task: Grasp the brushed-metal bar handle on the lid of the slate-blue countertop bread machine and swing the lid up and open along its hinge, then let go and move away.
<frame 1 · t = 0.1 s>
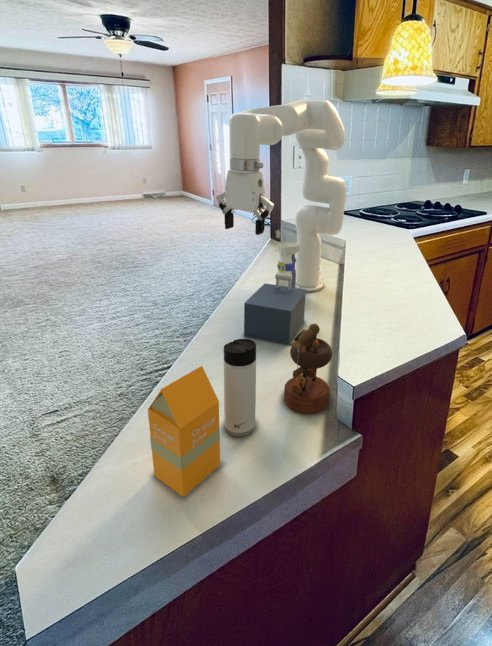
hand: (244, 230, 111), 31 cm above the counter, tool pointing down, fingers open, 9 cm apart
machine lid: (277, 289, 122), point 13 cm above the counter, hinge at 0.0°
travel mug: (240, 428, 85), on the counter
bread machine: (275, 328, 126), on the counter
orange juice: (188, 471, 74), on the counter
music box: (307, 398, 96), on the counter
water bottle: (285, 294, 152), on the counter
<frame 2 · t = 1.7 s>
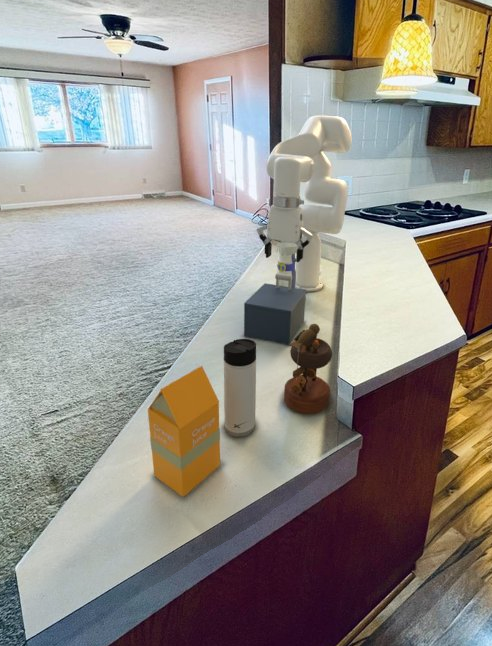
hand: (283, 258, 124), 21 cm above the counter, tool pointing down, fingers open, 9 cm apart
nothing on the counter moved.
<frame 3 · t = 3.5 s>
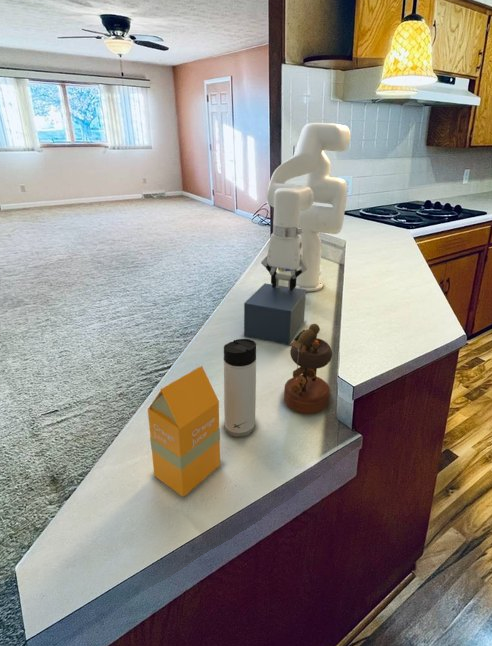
hand: (283, 287, 128), 11 cm above the counter, tool pointing down, fingers closed on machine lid, 5 cm apart
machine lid: (277, 289, 122), point 13 cm above the counter, hinge at 0.0°, touching gripper
everything else where it was.
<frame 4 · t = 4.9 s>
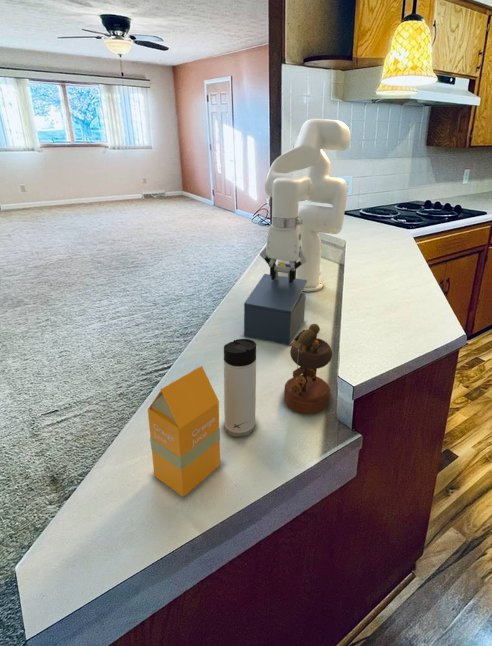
hand: (282, 279, 126), 14 cm above the counter, tool pointing down, fingers closed on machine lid, 5 cm apart
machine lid: (276, 285, 121), point 15 cm above the counter, hinge at 11.9°, touching gripper
everything else where it was.
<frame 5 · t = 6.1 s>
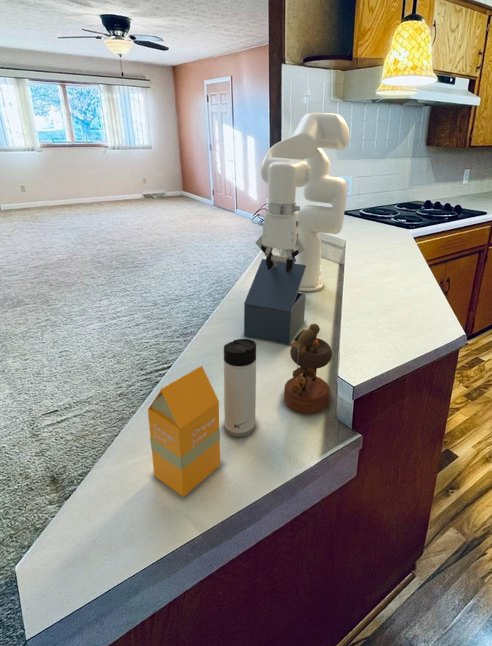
hand: (279, 268, 121), 19 cm above the counter, tool pointing down, fingers closed on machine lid, 5 cm apart
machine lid: (274, 279, 118), point 17 cm above the counter, hinge at 33.4°, touching gripper
everything else where it was.
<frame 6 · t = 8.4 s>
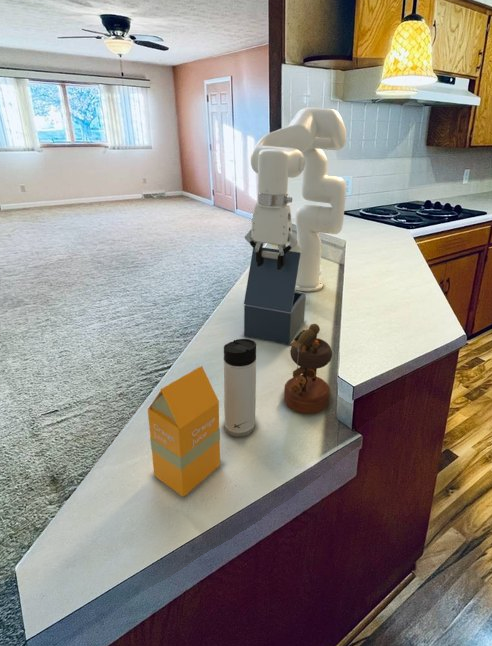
hand: (270, 265, 112), 23 cm above the counter, tool pointing down, fingers closed on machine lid, 5 cm apart
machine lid: (269, 278, 113), point 19 cm above the counter, hinge at 66.3°, touching gripper
everything else where it was.
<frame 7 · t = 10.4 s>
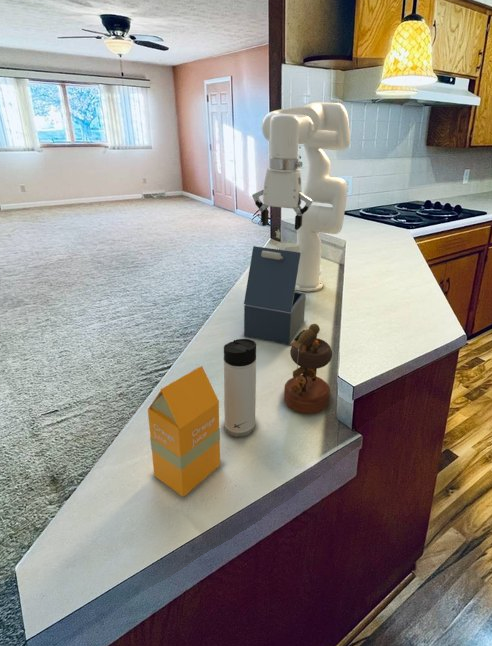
hand: (281, 226, 117), 32 cm above the counter, tool pointing down, fingers open, 9 cm apart
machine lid: (269, 278, 113), point 19 cm above the counter, hinge at 66.5°
everything else where it was.
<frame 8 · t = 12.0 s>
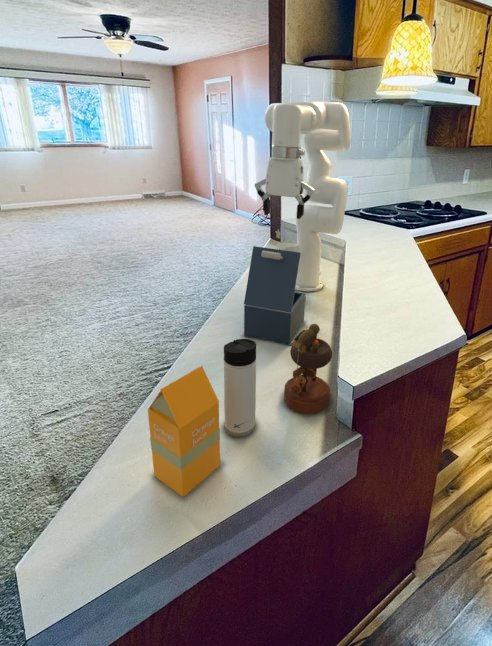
hand: (283, 216, 117), 34 cm above the counter, tool pointing down, fingers open, 9 cm apart
nothing on the counter moved.
at the end: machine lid at +66° (first picture: +0°); the gripper is holding nothing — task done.
